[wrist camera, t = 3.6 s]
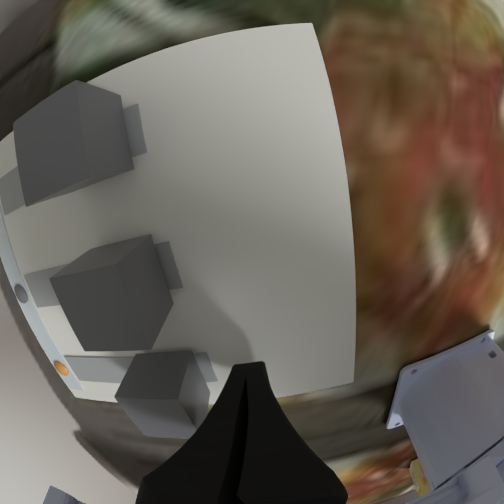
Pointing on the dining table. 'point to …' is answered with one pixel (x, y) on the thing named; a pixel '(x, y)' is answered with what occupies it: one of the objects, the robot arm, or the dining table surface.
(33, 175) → the gray cube
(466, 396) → the robot arm
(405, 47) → the dining table surface
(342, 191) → the switch panel
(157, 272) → the dark gray cube
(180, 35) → the dining table surface
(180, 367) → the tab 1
